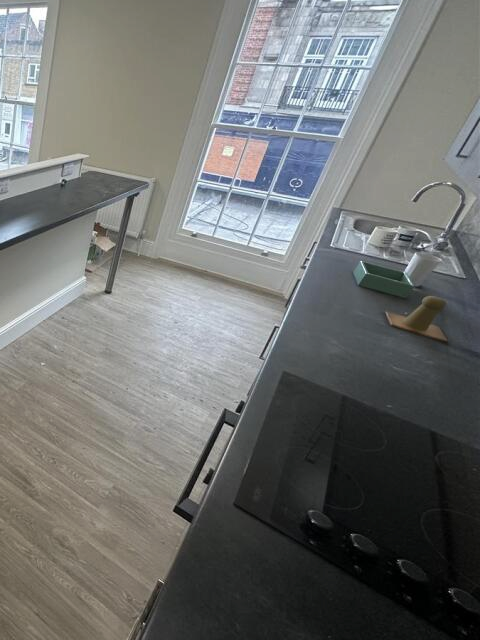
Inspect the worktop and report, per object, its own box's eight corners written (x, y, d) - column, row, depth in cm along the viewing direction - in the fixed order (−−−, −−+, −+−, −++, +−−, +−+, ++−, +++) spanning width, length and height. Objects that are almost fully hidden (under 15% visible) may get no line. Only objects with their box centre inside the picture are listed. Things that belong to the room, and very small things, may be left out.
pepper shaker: (403, 324, 136) (425, 297, 130) (403, 317, 140) (424, 291, 134) (427, 333, 133) (450, 305, 127) (427, 326, 136) (450, 299, 131)
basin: (397, 283, 165) (405, 272, 162) (405, 298, 154) (414, 286, 151) (353, 272, 171) (360, 260, 169) (358, 285, 161) (366, 273, 158)
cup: (404, 285, 164) (424, 259, 158) (391, 276, 171) (410, 251, 165) (426, 288, 163) (447, 263, 157) (413, 279, 170) (432, 254, 163)
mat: (437, 328, 137) (438, 326, 137) (446, 342, 130) (447, 340, 130) (384, 312, 143) (386, 311, 143) (390, 325, 136) (391, 324, 136)
